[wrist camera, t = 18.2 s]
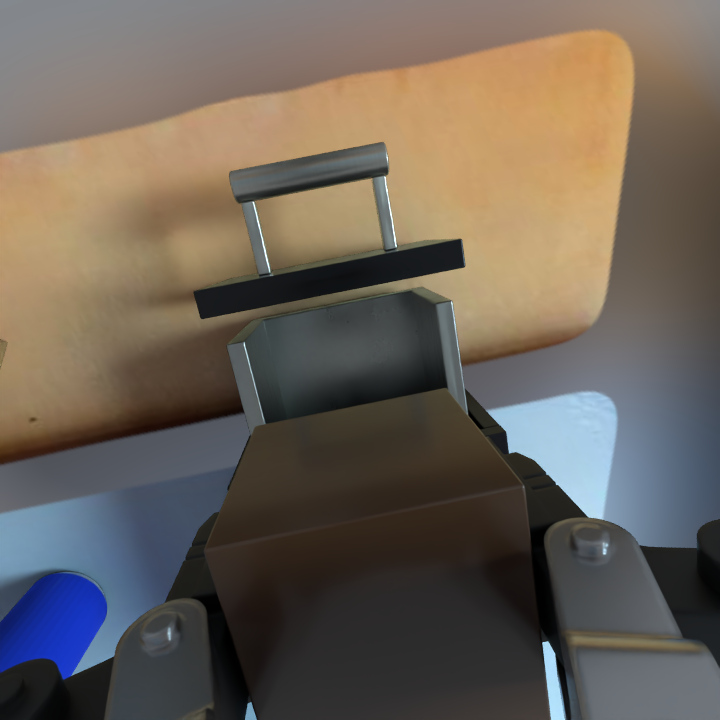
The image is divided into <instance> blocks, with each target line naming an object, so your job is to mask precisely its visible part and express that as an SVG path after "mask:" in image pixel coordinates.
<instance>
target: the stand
mask: <svg viewBox="0 0 720 720" xmlns="http://www.w3.org/2000/svg"><path fill="white" fill-rule="evenodd" d="M6 346H7V342H6V341H3V340H1V339H0V368H1V364H2V361H3V357H4V353H5V349H6Z"/></svg>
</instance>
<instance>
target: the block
mask: <svg viewBox="0 0 720 720" xmlns="http://www.w3.org/2000/svg"><path fill="white" fill-rule="evenodd" d="M204 554H205V557H206V561H207V564H208V567H209V570H210V573H211V576H212V579H213V583H214V586H215V589H216V592H217V595H218V598H219V601H220V605H221V608H222V611H223V614H224V617H225V620H226V624H227V627H228V630H229V633H230V636H231V639H232V642H233V646H234V649H235V652H236V655H237V658H238V661H239V664H240V668H241V671H242V674H243V677H244V680H245V683H246V687H247V690H248V693H249V696H250V699H251V702H252V705H253V709H254V712H255V715H256V718H257V720H551V717H550V708H549V699H548V690H547V681H546V672H545V663H544V654H543V645H542V636H541V627H540V618H539V609H538V600H537V591H536V582H535V573H534V564H533V555H532V546H531V537H530V528H529V519H528V511H527V502H526V493H525V486H524V484H523V483H522V482H521V480H520V479H519V478H518V477H517V475H516V474H515V473H514V472H513V470H512V469H511V468H510V467H509V465H508V464H507V463H506V462H505V460H504V459H503V458H502V457H501V456H500V454H499V453H498V452H497V451H496V449H495V448H494V447H493V446H492V444H491V443H490V442H489V441H488V439H487V438H486V437H485V436H484V434H483V433H482V432H481V431H480V429H479V428H478V427H477V426H476V424H475V423H474V422H473V421H472V420H471V418H470V417H469V416H468V415H467V413H466V412H465V411H464V410H463V408H462V407H461V406H460V405H459V403H458V402H457V401H456V400H455V398H454V397H453V396H452V395H451V393H450V392H449V391H448V390H447V389H446V388H443V389H438V390H433V391H428V392H423V393H418V394H413V395H408V396H403V397H398V398H393V399H388V400H383V401H378V402H373V403H368V404H363V405H358V406H354V407H349V408H344V409H339V410H334V411H329V412H324V413H319V414H314V415H309V416H304V417H299V418H294V419H289V420H284V421H279V422H274V423H269V424H264V425H259V426H256V427H255V428H254V430H253V433H252V435H251V437H250V440H249V442H248V445H247V447H246V449H245V452H244V454H243V457H242V459H241V461H240V464H239V466H238V469H237V471H236V474H235V476H234V478H233V481H232V483H231V486H230V488H229V490H228V493H227V495H226V498H225V500H224V503H223V505H222V507H221V510H220V512H219V515H218V517H217V519H216V522H215V524H214V527H213V529H212V531H211V534H210V536H209V539H208V541H207V544H206V546H205V548H204Z"/></svg>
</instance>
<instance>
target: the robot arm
mask: <svg viewBox="0 0 720 720" xmlns="http://www.w3.org/2000/svg"><path fill="white" fill-rule="evenodd" d="M486 438H487V439H488V441H489V442H490V443H491V444H492V446H493V447H494V448H495V449H496V451H497V452H498V453H499V454H500V456H501V457H502V458H503V459H504V460H505V462H506V463H507V464H508V465H509V467H510V468H511V469H512V470H513V472H514V473H515V474H516V475H517V477H518V478H519V479H520V480H521V482H522V483H523V484H524V486H525V493H526V502H527V511H528V519H529V528H530V537H531V546H532V555H533V564H534V573H535V582H536V591H537V600H538V609H539V618H540V627H541V636H542V642H546V641H549V643H550V645H551V647H552V649H553V650H554V652H555V655H556V665H557V675H558V681H559V687H560V693H561V699H562V705H563V711H564V717H565V720H720V519H719V520H714V521H711V522H708V523H706V524H705V525H703V526H702V527H701V528H700V529H699V530H698V533H697V548H666V547H647V546H641V545H639V544H638V542H637V541H636V539H635V538H634V537H633V536H632V535H631V534H630V533H629V532H628V531H626V530H625V529H623V528H622V527H620V526H618V525H616V524H614V523H611V522H608V521H605V520H601V519H596V518H588V517H587V516H586V514H585V513H584V512H583V511H582V510H581V509H580V508H579V507H578V506H577V505H576V504H575V503H574V502H573V501H572V500H571V499H570V498H569V496H568V495H567V494H566V493H565V492H564V491H563V490H562V489H561V488H560V487H559V486H558V485H556V483H555V482H554V481H553V480H552V479H551V477H550V476H549V475H546V472H545V471H544V470H543V469H542V468H541V467H540V466H539V465H538V464H537V463H536V462H535V461H534V460H532V459H530V458H528V457H526V456H523V455H521V454H519V453H517V452H515V453H510V454H505V455H504V454H503V453H502V452H501V451H500V449H499V448H498V447H497V446H496V445H495V443H494V442H493V441H492V440H491V438H490V437H486ZM218 515H219V512H217V513H214V514H213V515H212V516H211V517H210V518H209V519H208V520H207V521H206V522H205V523H204V524H203V525H202V526H201V527H200V528H199V529H198V531H197V534H196V536H195V538H194V540H193V542H192V547H190V549H189V551H188V553H187V555H186V557H185V558H186V561H184V562H183V564H182V566H181V568H180V570H179V573H178V575H177V577H176V579H175V581H174V583H173V586H172V588H171V590H170V592H169V594H168V597H167V599H166V601H165V603H163V604H161V605H159V606H157V607H155V608H153V609H151V610H149V611H148V612H146V613H145V614H143V615H142V616H141V617H139V618H138V619H137V620H136V621H135V622H134V623H133V624H132V625H131V626H129V628H128V629H127V630H126V631H125V632H124V634H123V635H122V637H121V638H120V640H119V642H118V644H117V647H116V650H115V656H114V657H112V658H110V659H108V660H106V661H104V662H102V663H99V664H97V665H95V666H93V667H91V668H88V669H86V670H84V671H82V672H79V673H77V674H75V675H73V676H71V677H68V678H66V679H64V680H63V677H62V675H61V673H60V670H59V668H58V666H57V664H56V663H55V662H54V661H52V660H50V659H46V658H39V659H33V660H29V661H25V662H22V663H20V664H17V665H15V666H13V667H11V668H9V669H7V670H5V671H3V672H1V673H0V720H245V715H246V710H247V704H248V703H250V702H251V699H250V696H249V693H248V690H247V687H246V683H245V680H244V677H243V674H242V671H241V668H240V664H239V661H238V658H237V655H236V652H235V649H234V646H233V642H232V639H231V636H230V633H229V630H228V627H227V624H226V620H225V617H224V614H223V611H222V608H221V605H220V601H219V598H218V595H217V592H216V589H215V586H214V583H213V579H212V576H211V573H210V570H209V567H208V564H207V561H206V557H205V554H204V548H205V546H206V544H207V541H208V539H209V536H210V534H211V531H212V529H213V527H214V524H215V522H216V519H217V517H218Z"/></svg>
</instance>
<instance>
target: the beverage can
mask: <svg viewBox="0 0 720 720" xmlns="http://www.w3.org/2000/svg"><path fill="white" fill-rule="evenodd" d="M106 614H107V603H106V599H105V595H104V593H103V591H102V589H101V587H100V586H99V585H98V584H97V583H96V582H95V581H94V580H93V579H91V578H90V577H88V576H86V575H83V574H80V573H76V572H61V573H55V574H51V575H48V576H45V577H43V578H41V579H39V580H38V581H37V582H35V583H34V585H33V586H32V587H31V588H30V589H29V590H28V591H27V592H26V594H25V595H24V596H23V597H22V598H21V599H20V600H19V602H18V603H17V604H16V605H15V606H14V607H13V608H12V610H11V611H10V612H9V613H8V614H7V615H6V616H5V618H4V619H3V620H2V621H1V622H0V673H1V672H3V671H5V670H7V669H9V668H11V667H13V666H15V665H17V664H20V663H22V662H25V661H29V660H33V659H39V658H46V659H50V660H52V661H54V662H55V663H56V664H57V666H58V668H59V670H60V673H61V675H62V677H63V680H64V679H66V678H68V677H71V675H72V673H73V672H74V670H75V668H76V667H77V665H78V663H79V662H80V660H81V658H82V657H83V655H84V653H85V652H86V650H87V648H88V647H89V645H90V643H91V642H92V640H93V638H94V637H95V635H96V633H97V632H98V630H99V628H100V627H101V625H102V623H103V622H104V620H105V617H106Z"/></svg>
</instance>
